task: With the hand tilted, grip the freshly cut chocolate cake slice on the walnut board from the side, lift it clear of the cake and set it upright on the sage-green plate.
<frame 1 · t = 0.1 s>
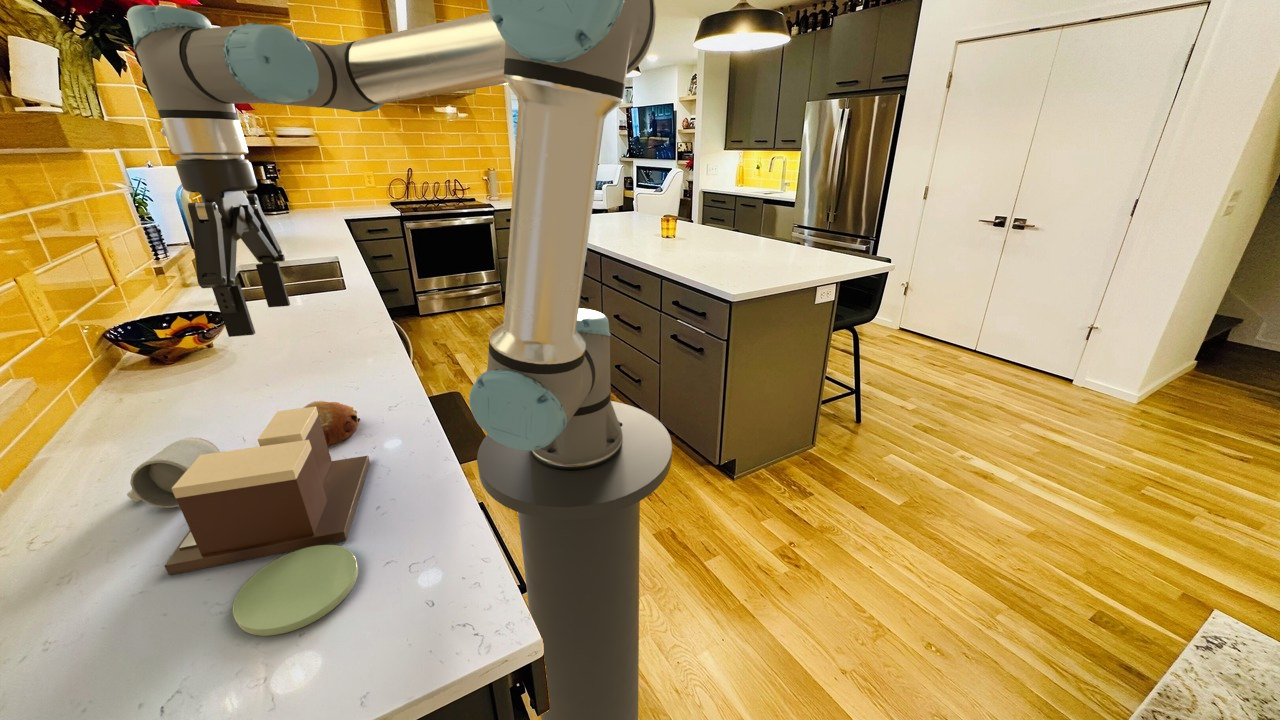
hand: (262, 319, 71), 24 cm above the countertop, tool pointing down, fingers open, 13 cm apart
cake board: (284, 510, 70), on the countertop
cake slice: (306, 480, 74), point 1 cm above the countertop, touching cake board
bread roll: (328, 434, 89), on the countertop
ceramic mug: (179, 494, 73), on the countertop
plate: (300, 589, 58), on the countertop
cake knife: (212, 513, 67), resting on cake board
cake: (269, 526, 65), point 1 cm above the countertop, touching cake board
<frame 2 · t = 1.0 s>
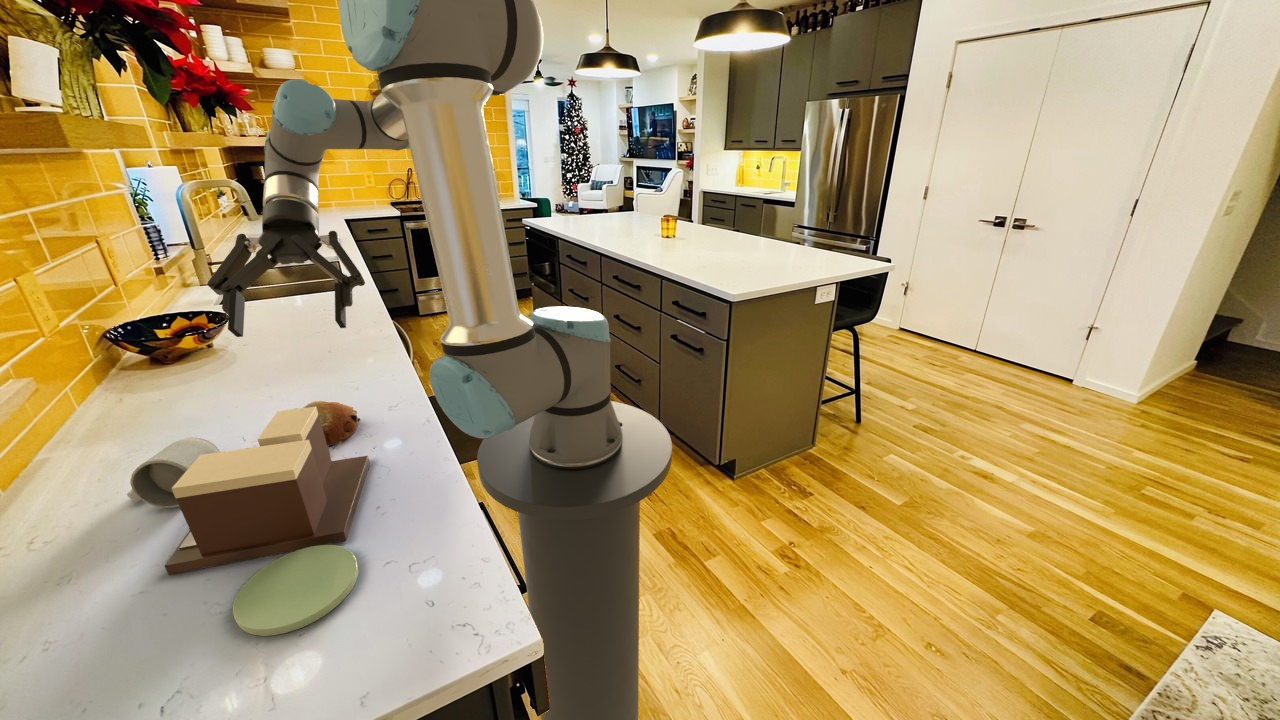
hand: (289, 328, 75), 22 cm above the countertop, tool tilted 45°, fingers open, 13 cm apart
nothing on the countertop moved.
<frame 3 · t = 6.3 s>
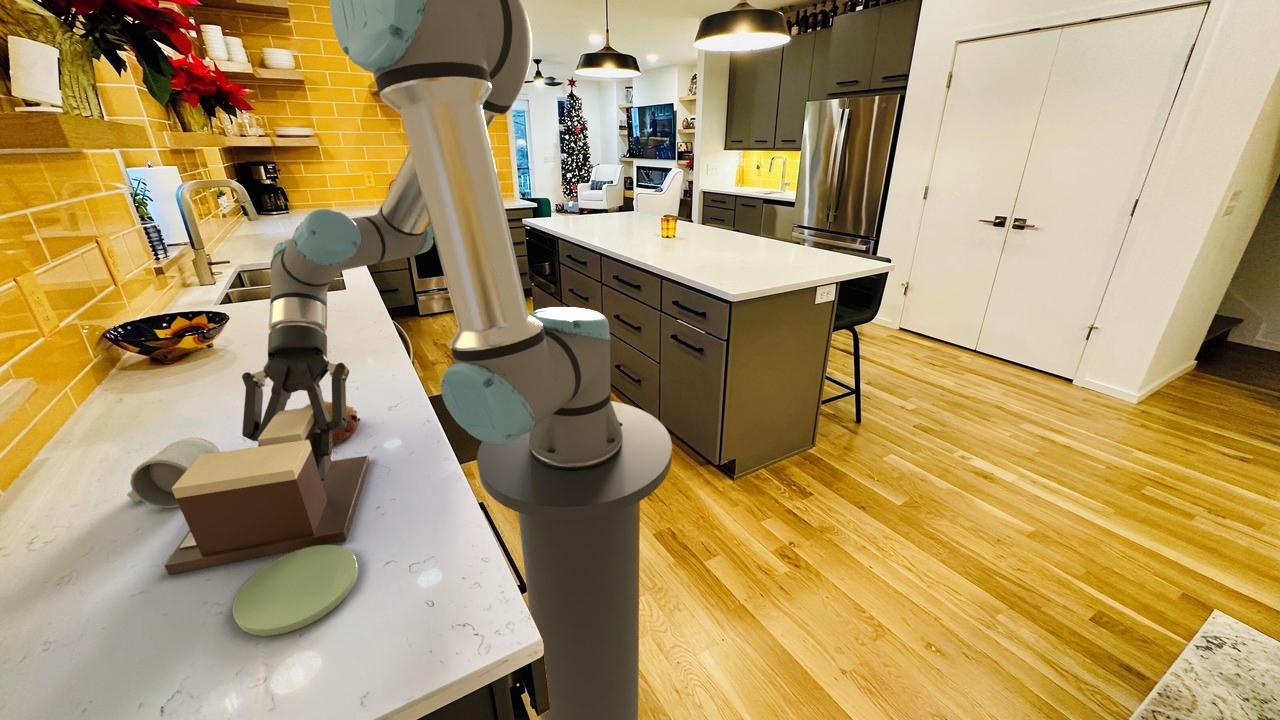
hand: (295, 482, 70), 4 cm above the countertop, tool tilted 45°, fingers closed on cake slice, 5 cm apart
cake slice: (306, 480, 74), point 2 cm above the countertop, touching cake board, gripper
everything else where it was.
when the fingers open (3 cm above the countertop, at t = 16.3 s): cake slice stays where it is, resting on plate.
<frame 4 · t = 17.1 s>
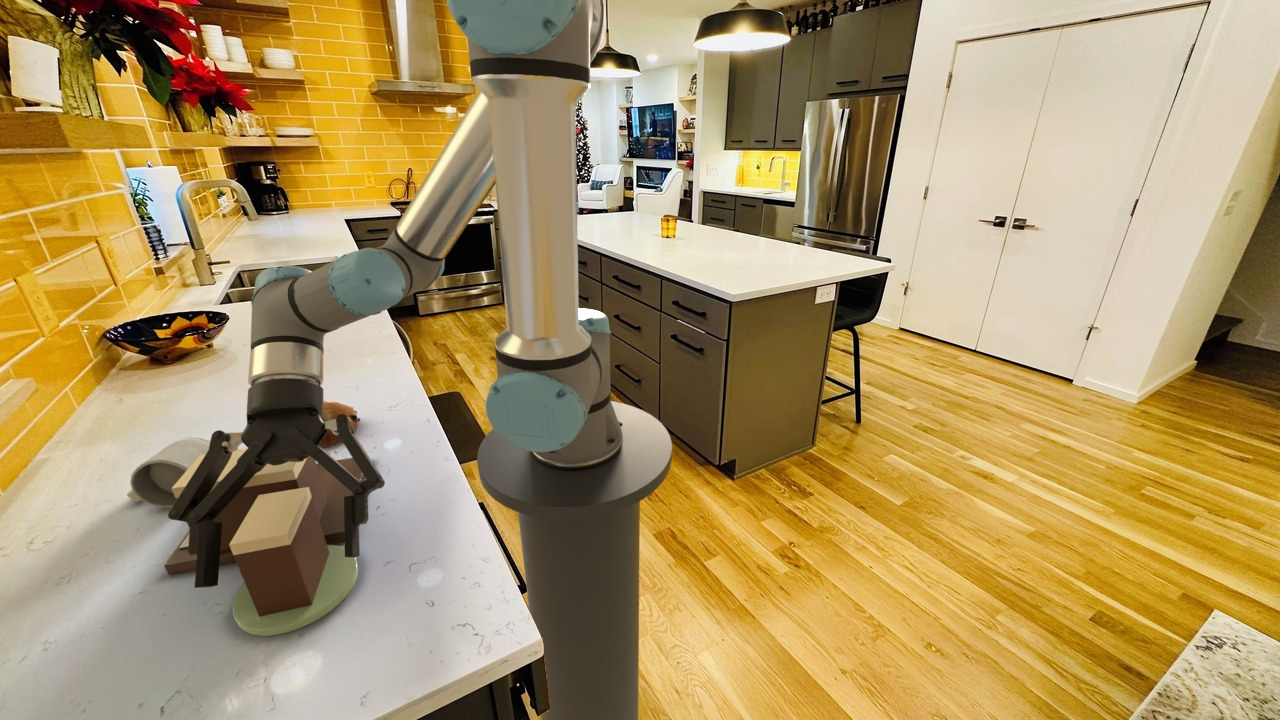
hand: (281, 571, 54), 5 cm above the countertop, tool tilted 45°, fingers open, 13 cm apart
cake slice: (296, 582, 57), point 1 cm above the countertop, touching plate
everything else where it was.
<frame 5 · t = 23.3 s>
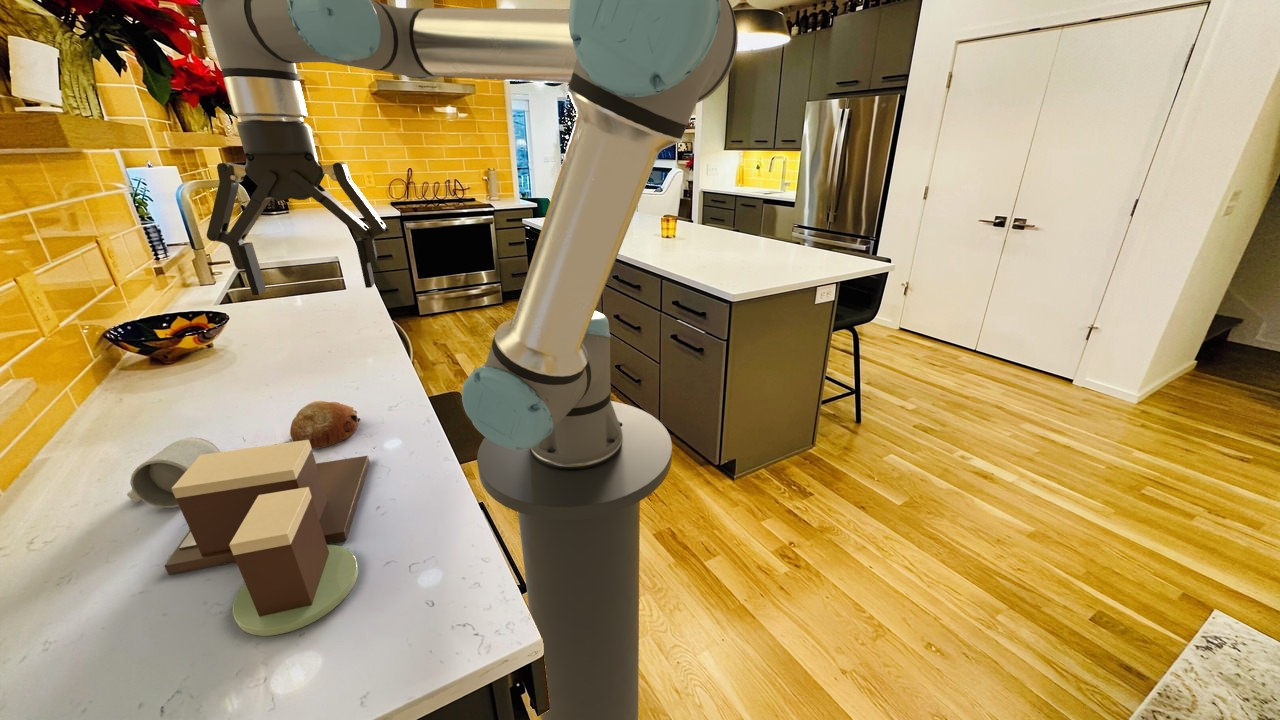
hand: (316, 289, 70), 29 cm above the countertop, tool pointing down, fingers open, 13 cm apart
nothing on the countertop moved.
at the end: cake slice inside the target area (0.1 cm from its centre), point 1.0 cm above the countertop; cake slice tilted 0°; cake moved 0.0 cm from its start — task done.
